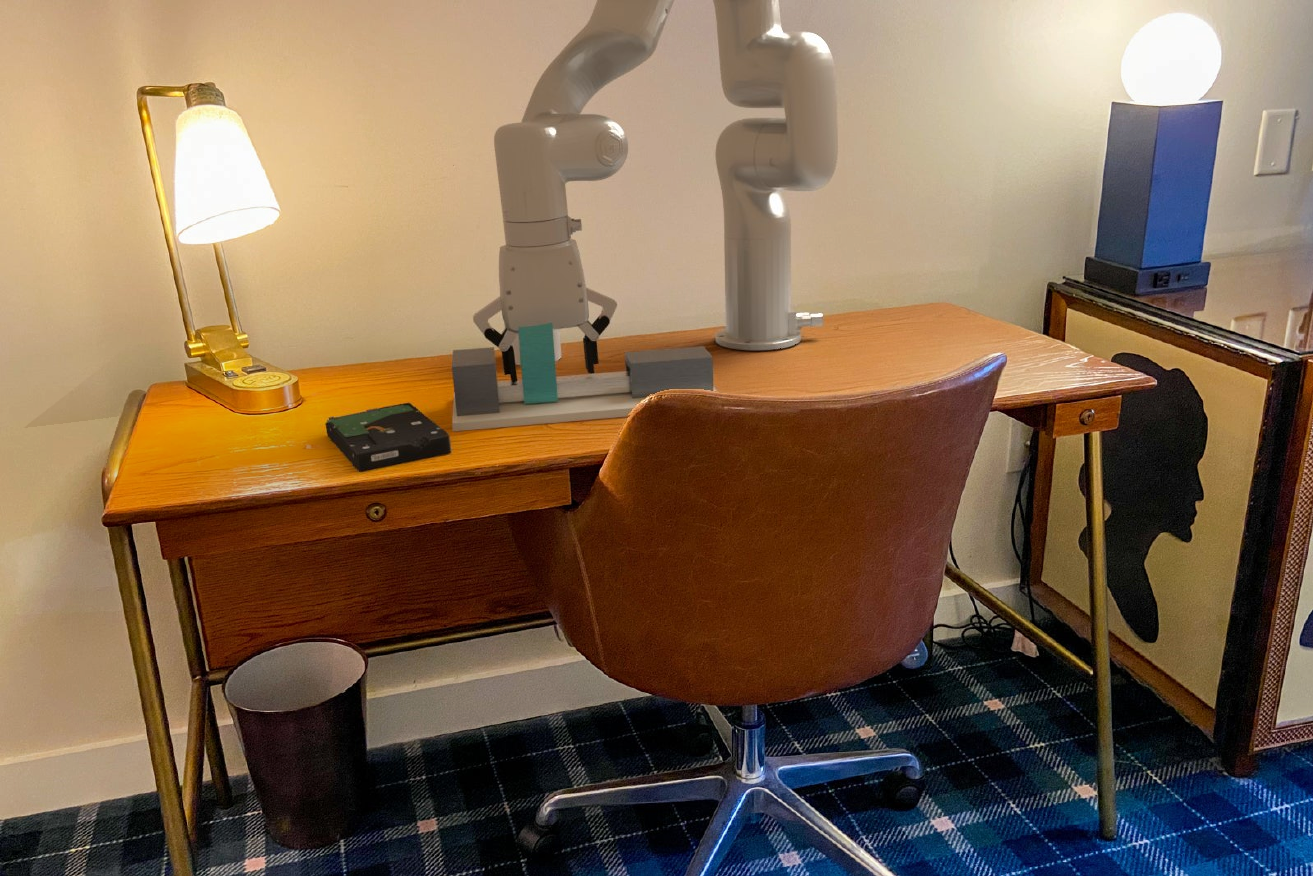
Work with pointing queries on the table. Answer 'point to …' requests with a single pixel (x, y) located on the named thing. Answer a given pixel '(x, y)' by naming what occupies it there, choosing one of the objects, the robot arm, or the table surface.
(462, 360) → the socket
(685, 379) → the sleeve
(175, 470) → the table surface
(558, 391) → the bolt
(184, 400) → the table surface
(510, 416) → the base board
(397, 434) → the disk drive
